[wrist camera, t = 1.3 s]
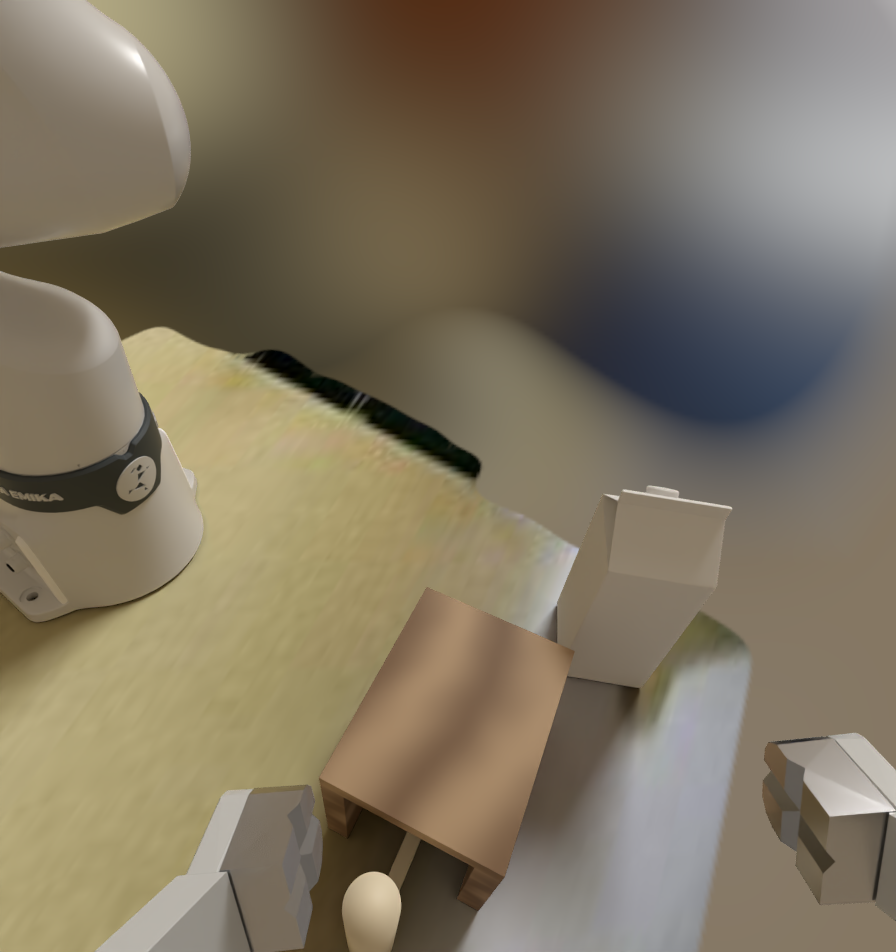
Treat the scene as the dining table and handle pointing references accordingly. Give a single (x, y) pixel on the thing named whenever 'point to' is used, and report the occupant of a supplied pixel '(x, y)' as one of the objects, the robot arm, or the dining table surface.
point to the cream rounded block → (377, 903)
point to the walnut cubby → (451, 737)
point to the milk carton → (638, 582)
